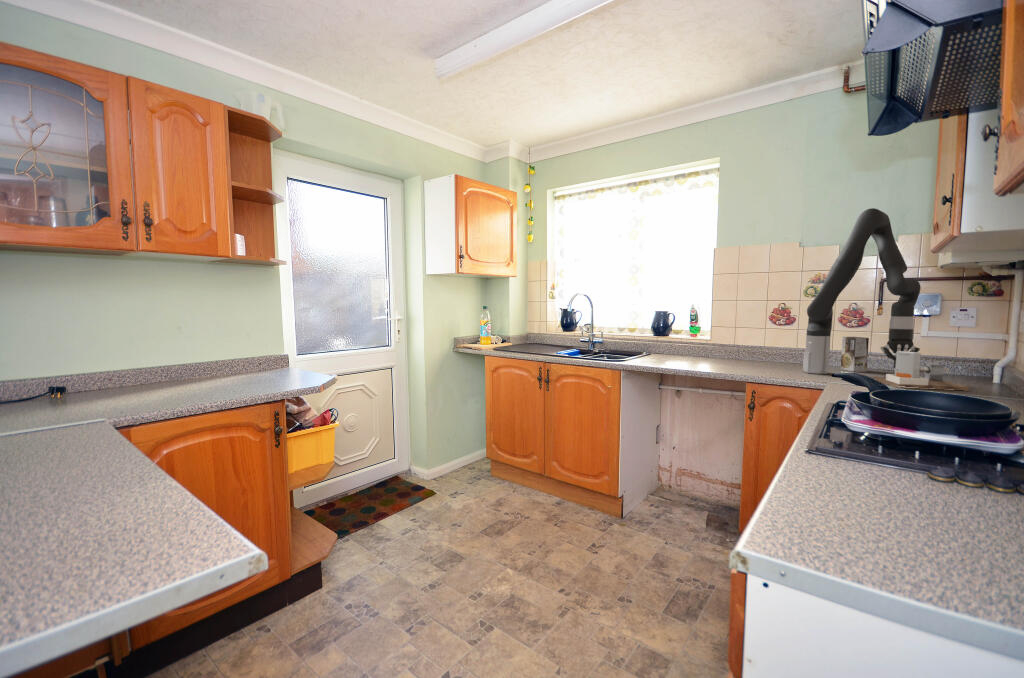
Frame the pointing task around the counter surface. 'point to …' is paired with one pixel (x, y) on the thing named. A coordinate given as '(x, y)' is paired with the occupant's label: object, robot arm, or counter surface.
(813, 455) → the counter surface
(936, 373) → the bearing block
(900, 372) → the skincare box
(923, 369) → the shaft
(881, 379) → the base plate
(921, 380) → the sleeve
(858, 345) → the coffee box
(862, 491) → the counter surface
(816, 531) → the counter surface
